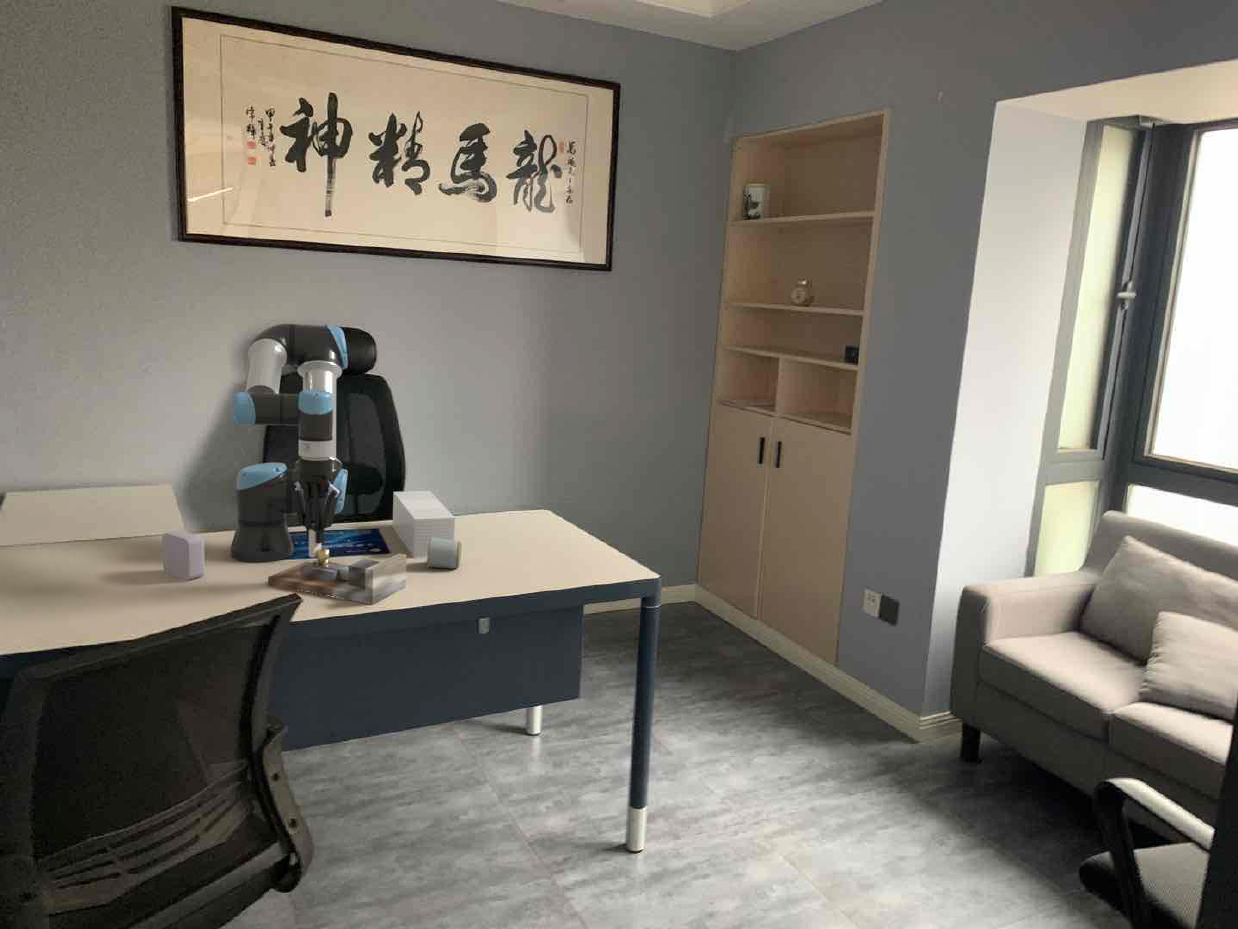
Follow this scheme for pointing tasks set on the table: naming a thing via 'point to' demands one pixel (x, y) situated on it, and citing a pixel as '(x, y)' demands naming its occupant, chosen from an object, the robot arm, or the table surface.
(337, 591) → the lock board
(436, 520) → the stack of papers
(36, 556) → the table surface
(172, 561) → the electronic device
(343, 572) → the bolt
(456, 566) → the ceramic mug
